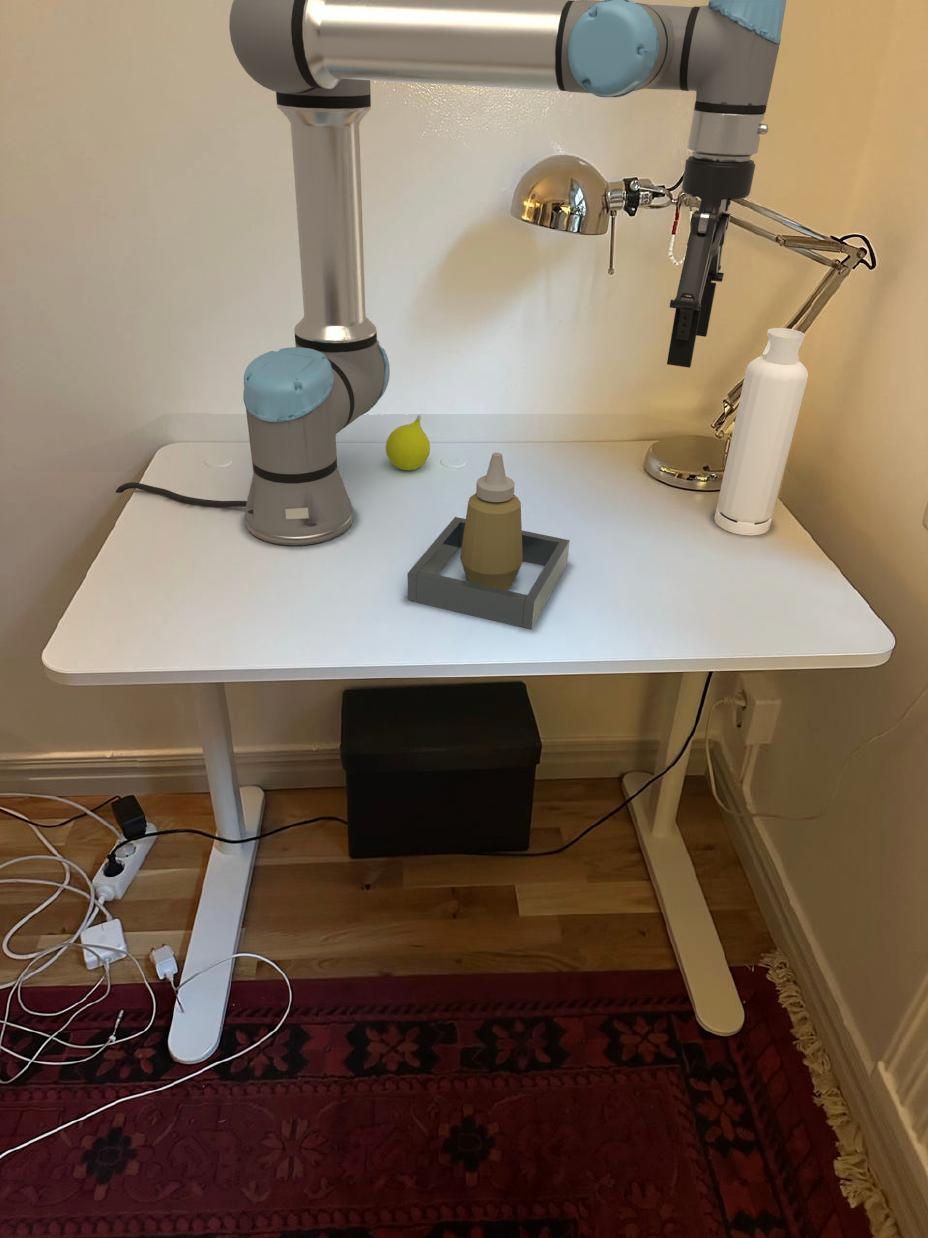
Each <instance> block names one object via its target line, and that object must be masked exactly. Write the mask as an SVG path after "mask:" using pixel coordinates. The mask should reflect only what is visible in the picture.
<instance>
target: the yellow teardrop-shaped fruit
mask: <svg viewBox="0 0 928 1238" xmlns="http://www.w3.org/2000/svg"><path fill="white" fill-rule="evenodd" d="M421 411H423V409H422V408H421ZM421 419H422V415H421V414H418V415H417V417H416V419H415V420H414V421H413V422H412V423H409V424H404V425H401V426H398V427H397V428H395V429H393V430H392V432H391V433H390V434H389V435H388V437H387V439H386V442H385V453H386V456H387V459H388V460H389V461H390V462H391V464H392V465H393V466H395V467H396V468H398V469H400V470H403V471H413V470H417V469H418V468H420V467H422V466H423V465H425V463H426V462H427V460H428V458H429V456H430V453H431V444H430V440H429V438H428V436H427V434H426V433H425V432H424V430H423V428H422V426H421Z"/></svg>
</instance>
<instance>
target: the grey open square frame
mask: <svg viewBox="0 0 928 1238" xmlns="http://www.w3.org/2000/svg"><path fill="white" fill-rule="evenodd" d="M465 521H466V518H463V517H458V516H454V518H453V519H451V521H450V522H449V523H448V525H447V526H446V527H445V528H444V529H443V531H442V532H441V533H440V534H439V535H438V536H437V538H436V539H435V540H434V541H433V542H432V543H431V545H430V546H429V547H428V548H427V550H425V552H424V553H423V554H422V556H420V557H419V559H418V560H417V561H416V563H414V565H413V566H412V567H411V569H410V570H409V571H408V572H407V573H406V574H407V577H406V578H407V601H408V602H413V603H418V604H422V605H426V606H430V607H435V608H439V609H444V610H447V611H452V612H455V613H460V614H465V615H468V616H472V617H476V618H482V619H486V620H490V621H494V622H498V623H503V624H507V625H511V626H516V627H518V628H519V627H520V628H523V629H524V628H525V629H529V630H532V629H533V628H534V626H535V624H536V622H537V620H538V619H539V617H540V615H541V613H542V612H543V610H544V608H545V607H546V605H547V602H548V601H549V599H550V597H551V595H552V594H553V592H554V589H555V588H556V586H557V585H558V583H559V581H560V579H561V577H562V575H563V574H564V572H565V571H566V568H567V566H568V561H569V550H570V544H571V543H570V539H565V538H561V537H556V536H551V535H547V534H542V533H536V532H532V531H527V530H523V529H522V552H523V560H522V562H526V563H530V564H535V565H539V566H544V567H543V568H542V570H541V572H540V574H539V575H538V576H537V578H536V580H535V582H534V584H533V585H532V587H531V588H530V590H529V592H528V594H525V593H521V592H516V591H512V590H508V589H507V590H503V589H499V588H494V587H490V586H485V585H481V584H476V583H472V582H468V580H463V579H459V578H453V577H449V576H445V575H441V574H440V573H441V571H442V570H443V569H444V568H445V566H446V565H447V564H448V562H450V560H451V559H452V557H453V556H454V555H455V554H456V553H457V551H458V550H459V548H460V549H461V548H462V542H463V535H464V528H465Z"/></svg>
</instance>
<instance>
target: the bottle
mask: <svg viewBox="0 0 928 1238" xmlns="http://www.w3.org/2000/svg"><path fill="white" fill-rule="evenodd" d="M766 337H767V344H766V346H765V348H764V350H763V352H762V354H761V356H758V357H756V358H754V359H753V360H751V361H749V363H748V365H746V369H745V374H744V378H743V382H742V387H741V391H740V396H739V401H738V407H737V411H736V415H735V420H734V425H733V429H732V434H731V439H730V443H729V448H728V453H727V457H726V462H725V465H724V466H725V467H724V471H723V476H722V480H721V486H720V489H719V494H718V499H717V506H716V509H715V514H714V518H713V521H714V523H715V524H716V526H718V527H719V528H721V529H722V530H725V531H726V532H729V533H733V534H736V535H741V536H759V535H763V534H765V533H767V532H768V531H769V530H770V528H771V524H772V520H773V515H774V512H775V507H776V504H777V500H778V496H779V492H780V489H781V485H782V480H783V477H784V474H785V470H786V469H785V468H786V465H787V461H788V457H789V454H790V449H791V446H792V441H793V438H794V434H795V430H796V426H797V422H798V418H799V414H800V410H801V408H802V407H801V406H802V402H803V399H804V395H805V391H806V387H807V382H808V378H809V372H808V369H807V368H806V367H805V365H804V364H803V362H801V361H800V356H799V350H800V348H801V346H802V343H804V340H805V337H806V334H805V333H804V332H802V331H800V330H796V329H793V328H786V327H773V328H769V329H767V333H766Z"/></svg>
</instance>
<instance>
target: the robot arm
mask: <svg viewBox="0 0 928 1238" xmlns="http://www.w3.org/2000/svg"><path fill="white" fill-rule="evenodd" d="M786 4H787V0H708V5H700V6H697V5H696V6H695V5H694V6H684V5H683V6H682V5H681V6H680V5H668V4H667V5H665V4H649V3H647V4H646V3H641V2H634V1H633V0H233V2H232V4H231V6H230V7H231V9H230V12H229V26H228V27H229V29H228V30H229V36H230V42H231V46H232V48H233V51H234V54H235V56H236V58H237V60H238V62H239V64H240V65H241V67H242V69H243V70H244V71H245V72H246V74H247V75H248V76H249V77H250V78H251V79H252V80H253V81H255V82H256V83H257V84H259V85H260V86H262V88H265V89H268V90H270V91H272V92H275V97H276V107H277V109H278V110H279V111H280V112H281V113H282V114H283V115H284V116H285V117H286V118H287V119H288V121H289V123H290V135H291V149H292V162H293V175H294V189H295V191H294V192H295V203H296V204H295V206H296V219H297V220H296V221H297V233H298V234H297V235H298V244H299V248H298V249H299V260H300V261H299V262H300V263H299V264H300V276H301V290H302V305H303V317H302V319H301V320H300V321H298V322H297V324H296V325H295V326H294V329H293V331H294V344H295V346H294V347H293V346H291V347H284V348H279V350H278V351H277V350H276V351H275V350H270V351H267V352H265V353H262V354H260V355H259V356H257V357H256V358H254V359H253V360H252V361H251V362H249V364H247V366H246V369H245V371H244V374H243V392H242V393H243V396H242V397H243V403H244V407H245V412H246V413H245V414H246V420H247V429H248V439H249V446H250V447H249V448H250V456H251V463H252V472H253V473H252V479H251V482H250V488H249V492H248V494H247V500H214V499H205V498H197V497H190V496H187V495H182V494H179V493H177V492H173V491H171V490H170V489H169V490H168V489H166V488H162V487H157V486H152V485H148V484H146V483H145V484H144V483H140V482H135V481H133V482H131V481H130V482H126V483H123V484H121V485H120V486H118V487H117V489H116V490H115V493H116V494H122V493H124V491H126V490H130V489H135V490H141V491H145V492H149V493H153V494H158V495H162V496H165V497H168V498H171V499H172V500H175V501H178V502H183V503H187V504H193V505H197V506H205V507H216V508H245V510H244V511H245V512H244V517H245V525H246V528H247V530H248V532H250V534H251V535H253V536H254V537H256V538H257V539H259V540H262V541H264V542H267V543H271V544H275V545H280V546H281V545H283V546H307V545H315V544H319V543H323V542H326V541H329V540H332V539H334V538H337V537H338V536H340V535H342V534H344V533H345V532H346V531H347V530H348V529H350V527H351V526H352V524H353V520H354V512H353V505H352V502H351V499H350V496H349V494H348V492H347V490H346V486H345V484H344V482H343V479H342V477H341V474H340V472H339V468H338V454H337V453H338V452H337V434H338V433H340V432H341V431H342V430H344V429H345V428H346V427H348V426H349V425H350V424H351V423H353V422H355V420H357V419H358V418H360V417H361V416H363V415H365V414H367V413H368V412H369V411H371V409H373V408H374V406H376V405H377V404H378V402H379V401H380V400H381V398H382V397H383V396H384V394H385V392H386V390H387V388H388V385H389V381H390V373H391V367H390V362H389V357H388V354H387V352H386V350H385V349H384V348H383V347H382V346H381V345H380V341H379V340H378V331H377V326H376V324H375V323H373V322H372V321H371V320H370V319H369V318H368V317H367V315H366V289H365V257H364V230H363V229H364V227H363V226H364V225H363V200H362V199H363V198H362V197H363V195H362V169H361V168H362V167H361V139H360V137H361V135H360V125H361V121H363V119H364V118H365V117H366V115H367V114H368V113H369V112H370V111H371V109H372V102H371V99H372V98H371V97H372V96H371V90H372V89H371V81H378V82H396V83H397V82H398V83H416V84H429V85H432V84H433V85H448V86H449V85H450V86H451V85H452V86H466V87H468V86H469V87H484V88H485V87H486V88H504V89H521V90H522V89H524V90H536V91H537V90H539V91H540V90H541V91H553V92H554V91H555V92H556V91H557V92H568V93H579V94H592V95H594V96H596V97H599V98H621V97H624V96H627V95H629V94H631V93H633V92H637V91H640V90H663V91H664V90H665V91H682V92H689V91H692V92H696V93H695V102H694V108H693V110H692V116H691V122H690V129H689V134H688V135H689V136H688V142H687V150H688V151H689V152H690V153H691V155H690V156H688V157H687V159H686V160H685V164H684V171H683V176H682V177H683V178H682V182H681V183H682V184H681V191H682V193H683V194H684V195H686V196H688V197H692V198H699V199H700V203H699V207H698V210H695V211H694V212H693V213H692V214H691V217H690V221H689V235H688V238H687V242H686V251H685V255H684V259H683V264H682V269H681V273H680V278H679V283H678V286H677V291H676V296H675V298H674V299H670V302H669V308H670V309H675V312H674V317H673V324H672V329H671V335H670V342H669V348H668V354H667V361H666V365H667V366H668V365H669V366H676V367H682V368H689V369H690V368H691V366H692V361H693V356H694V350H695V346H696V345H695V344H696V339H697V336H698V337H704V338H706V337H707V336H708V330H709V326H710V325H709V324H710V320H711V314H712V309H713V303H714V298H715V293H716V286H717V282H718V283H723V279H724V274H725V273H724V272H720V271H721V269H722V265H721V263H722V256H723V251H724V250H723V248H724V245H725V239H726V236H727V230H728V227H729V225H730V224H729V223H730V220H731V213H729V208H730V206H731V204H732V203H731V202H732V201H739V200H744V199H746V198H748V197H749V196H750V194H751V190H752V184H753V179H754V175H755V170H756V163H755V161H754V160H752V159H751V157H754V156H755V155H756V154H758V153H759V146H760V142H761V136H760V135H767V133H768V132H769V125H768V124H766V123H762V121H763V120H765V114H766V112H767V105H768V102H769V97H770V92H771V88H772V84H773V78H774V75H775V74H774V73H775V68H776V65H777V59H778V54H779V50H780V45H781V41H782V30H783V23H784V18H785V12H786V11H785V10H786Z"/></svg>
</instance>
